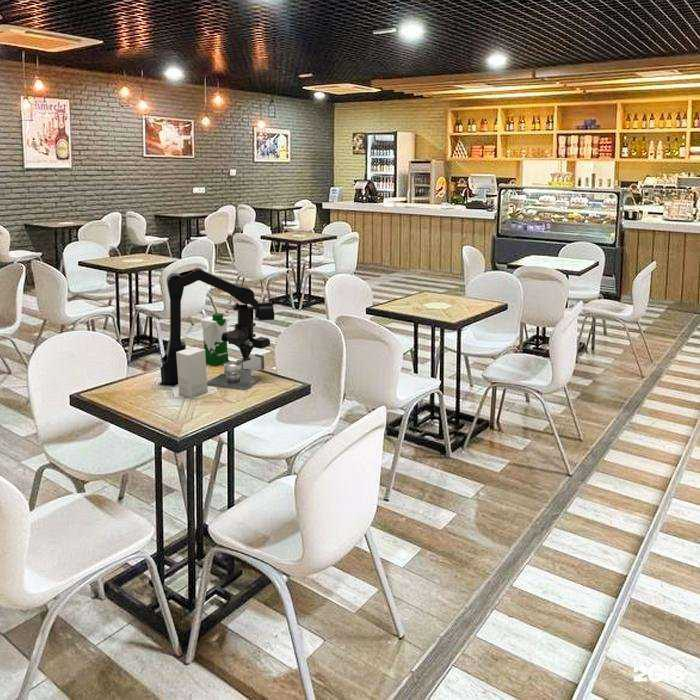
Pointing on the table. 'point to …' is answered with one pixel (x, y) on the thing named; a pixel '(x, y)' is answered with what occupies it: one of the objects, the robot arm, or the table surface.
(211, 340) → the milk carton
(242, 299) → the robot arm
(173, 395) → the table surface
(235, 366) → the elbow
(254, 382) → the base
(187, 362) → the skincare box
